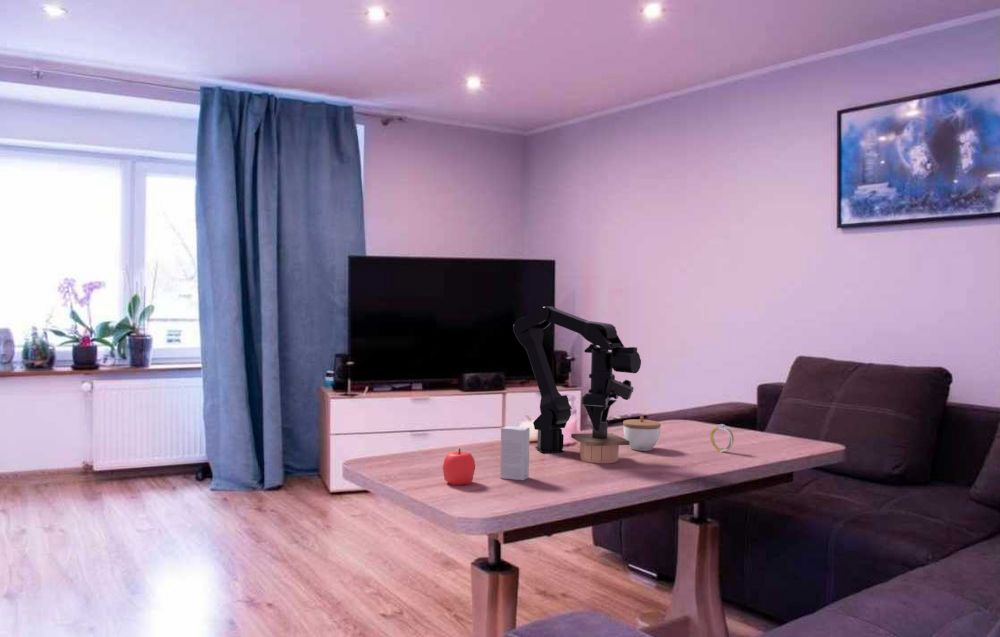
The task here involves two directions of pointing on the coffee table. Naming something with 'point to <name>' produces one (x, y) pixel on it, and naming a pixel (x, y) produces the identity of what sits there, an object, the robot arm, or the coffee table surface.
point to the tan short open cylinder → (599, 454)
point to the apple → (459, 468)
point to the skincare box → (514, 453)
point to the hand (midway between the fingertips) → (599, 428)
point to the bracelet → (731, 437)
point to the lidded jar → (641, 433)
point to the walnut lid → (600, 437)
